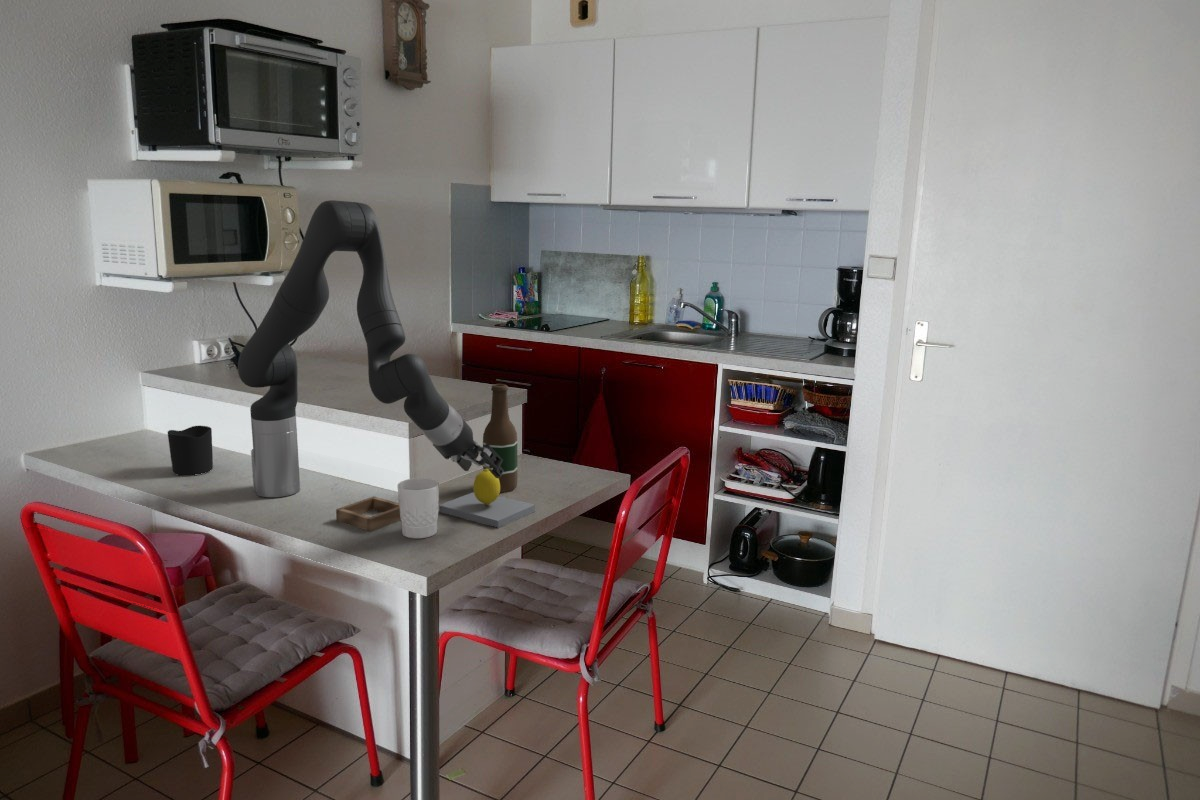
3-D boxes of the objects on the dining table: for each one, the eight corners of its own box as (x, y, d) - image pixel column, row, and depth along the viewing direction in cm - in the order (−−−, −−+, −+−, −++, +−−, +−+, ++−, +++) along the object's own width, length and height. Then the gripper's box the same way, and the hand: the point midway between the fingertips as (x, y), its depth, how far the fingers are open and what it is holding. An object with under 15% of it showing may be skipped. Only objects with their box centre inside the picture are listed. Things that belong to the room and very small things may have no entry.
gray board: (439, 512, 184) (439, 505, 184) (477, 497, 194) (477, 490, 194) (498, 528, 176) (498, 520, 175) (534, 511, 185) (535, 504, 185)
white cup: (442, 525, 177) (441, 477, 174) (436, 540, 169) (435, 490, 167) (403, 525, 176) (401, 477, 174) (395, 540, 169) (393, 490, 166)
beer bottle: (484, 494, 196) (483, 388, 191) (482, 483, 204) (480, 381, 198) (519, 492, 198) (519, 387, 192) (515, 482, 205) (515, 381, 200)
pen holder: (207, 476, 205) (204, 435, 203) (165, 477, 204) (161, 435, 202) (219, 465, 214) (216, 425, 212) (179, 465, 213) (175, 425, 211)
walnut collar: (336, 520, 178) (336, 509, 178) (374, 507, 186) (373, 496, 186) (371, 531, 173) (370, 519, 172) (408, 517, 181) (407, 505, 180)
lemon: (474, 501, 187) (473, 465, 185) (500, 500, 187) (499, 464, 185) (473, 510, 181) (472, 473, 179) (500, 509, 182) (500, 472, 180)
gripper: (482, 417, 168) (519, 461, 180) (427, 407, 176) (466, 450, 188) (463, 450, 165) (503, 492, 177) (409, 438, 173) (450, 480, 185)
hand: (484, 470), depth 182 cm, fingers open, 8 cm apart
